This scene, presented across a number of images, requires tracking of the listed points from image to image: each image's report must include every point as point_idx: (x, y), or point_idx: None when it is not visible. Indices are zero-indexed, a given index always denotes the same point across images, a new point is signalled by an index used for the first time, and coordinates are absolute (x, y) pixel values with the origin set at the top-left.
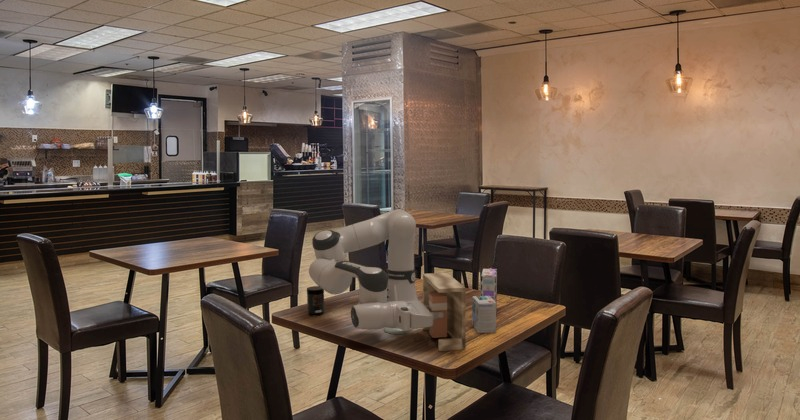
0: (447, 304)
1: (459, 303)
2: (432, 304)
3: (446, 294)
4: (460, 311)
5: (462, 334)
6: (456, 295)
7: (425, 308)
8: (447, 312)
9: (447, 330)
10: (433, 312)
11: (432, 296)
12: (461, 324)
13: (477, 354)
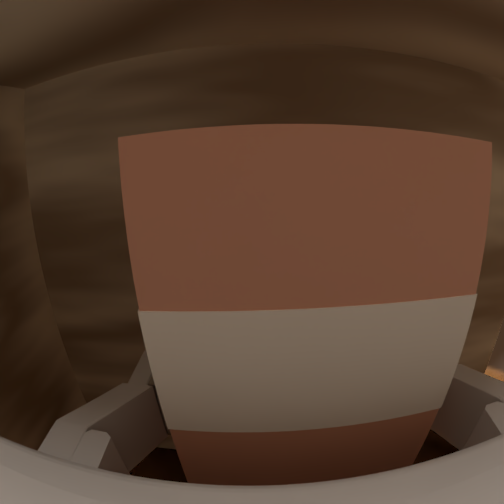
0: (128, 289)
1: (491, 179)
2: (471, 310)
3: (87, 212)
4: (501, 232)
5: (487, 356)
6: (425, 127)
7: (437, 493)
8: (141, 349)
9: (165, 441)
10: (426, 417)
11: (465, 137)
12: (501, 308)
13: (494, 374)
